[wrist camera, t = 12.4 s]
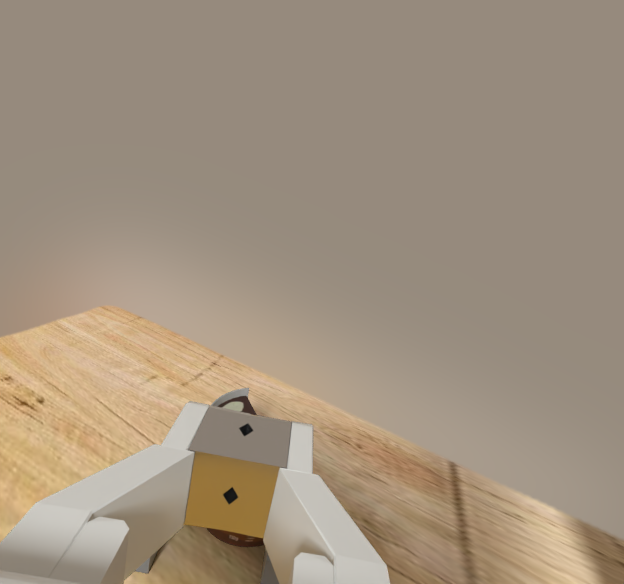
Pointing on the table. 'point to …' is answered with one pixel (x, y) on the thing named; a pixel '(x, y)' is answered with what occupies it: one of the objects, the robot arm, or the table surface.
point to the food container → (241, 403)
